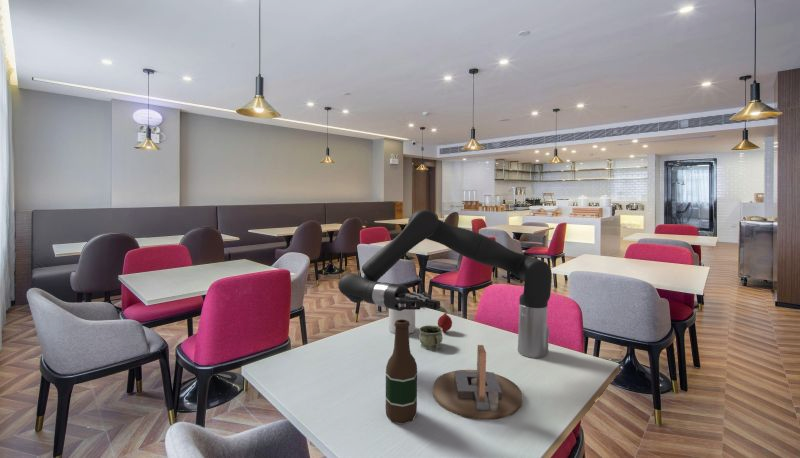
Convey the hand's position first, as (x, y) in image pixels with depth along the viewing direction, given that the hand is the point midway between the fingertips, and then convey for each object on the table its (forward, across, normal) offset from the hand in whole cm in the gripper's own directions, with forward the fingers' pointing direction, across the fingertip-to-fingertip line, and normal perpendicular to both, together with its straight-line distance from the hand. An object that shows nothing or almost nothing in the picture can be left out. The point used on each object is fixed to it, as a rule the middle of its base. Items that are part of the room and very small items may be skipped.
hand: (438, 305), depth 104 cm
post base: (+8, -6, -25) cm, 27 cm away
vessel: (-21, -26, -25) cm, 42 cm away
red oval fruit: (-25, -41, -25) cm, 54 cm away
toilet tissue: (-40, -32, -24) cm, 57 cm away
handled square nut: (+10, -4, -23) cm, 25 cm away
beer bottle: (-1, +16, -25) cm, 29 cm away
